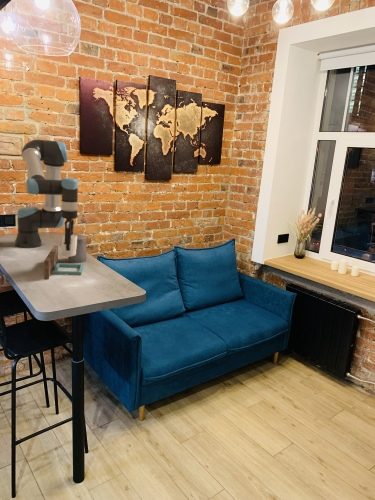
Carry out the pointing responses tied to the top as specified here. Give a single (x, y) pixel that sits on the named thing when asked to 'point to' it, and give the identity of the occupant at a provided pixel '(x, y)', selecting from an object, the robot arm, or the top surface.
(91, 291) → the top surface
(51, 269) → the brown wooden board
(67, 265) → the keeper frame
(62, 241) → the white cup
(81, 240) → the pillar candle
